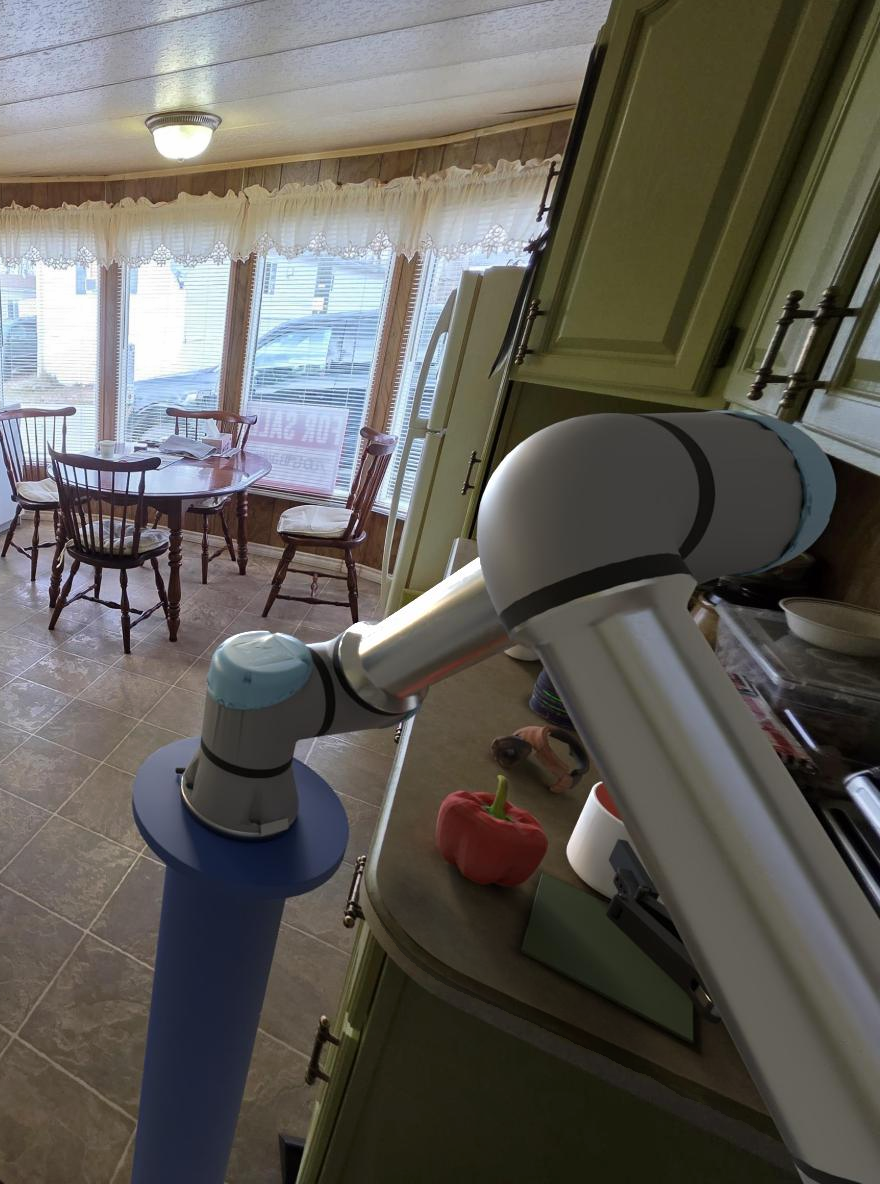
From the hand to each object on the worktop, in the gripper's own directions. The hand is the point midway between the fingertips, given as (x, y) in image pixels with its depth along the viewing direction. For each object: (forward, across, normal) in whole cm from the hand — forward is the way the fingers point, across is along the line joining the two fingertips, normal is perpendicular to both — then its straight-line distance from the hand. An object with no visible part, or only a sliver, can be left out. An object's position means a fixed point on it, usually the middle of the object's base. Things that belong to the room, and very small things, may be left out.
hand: (703, 869), depth 60 cm
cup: (+10, 0, -12) cm, 15 cm away
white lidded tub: (+68, +5, -11) cm, 69 cm away
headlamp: (+28, -4, -11) cm, 31 cm away
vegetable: (+6, -15, -12) cm, 20 cm away
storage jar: (+47, +6, -11) cm, 49 cm away
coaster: (-1, -5, -11) cm, 12 cm away
